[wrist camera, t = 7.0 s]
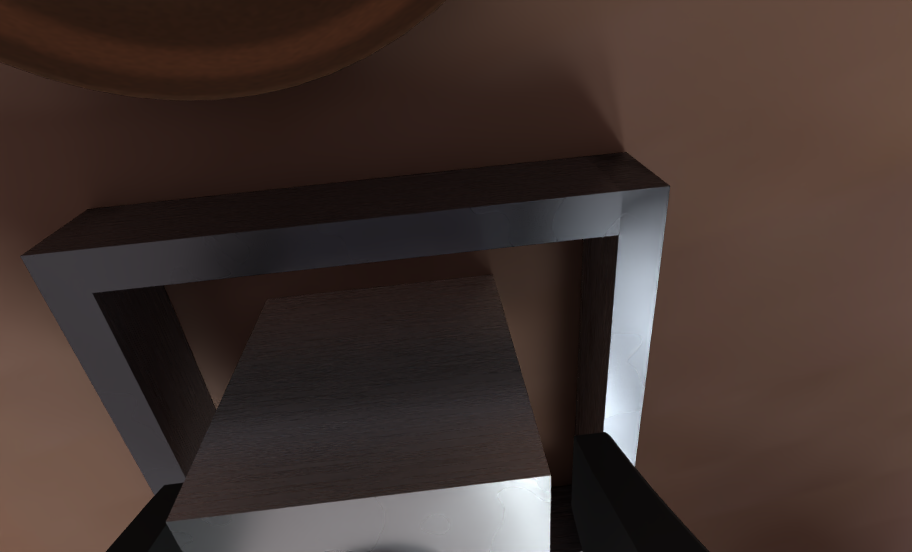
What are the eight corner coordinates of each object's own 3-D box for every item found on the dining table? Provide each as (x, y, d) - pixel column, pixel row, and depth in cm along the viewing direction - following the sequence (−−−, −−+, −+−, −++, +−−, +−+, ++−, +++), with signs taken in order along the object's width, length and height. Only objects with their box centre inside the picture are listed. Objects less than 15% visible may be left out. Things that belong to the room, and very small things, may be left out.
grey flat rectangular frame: (585, 662, 20) (602, 725, 19) (315, 698, 20) (306, 765, 18) (626, 151, 10) (669, 186, 9) (87, 209, 10) (20, 256, 8)
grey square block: (501, 433, 14) (552, 685, 9) (316, 455, 14) (262, 722, 9) (492, 272, 12) (556, 495, 7) (267, 297, 11) (156, 544, 6)
